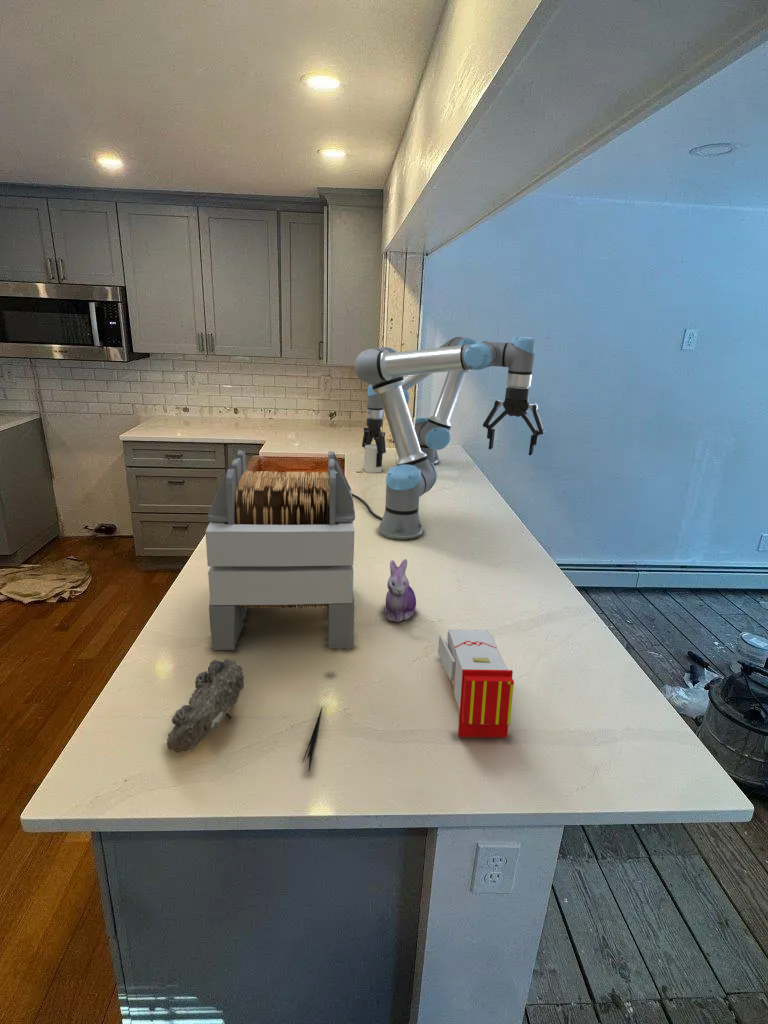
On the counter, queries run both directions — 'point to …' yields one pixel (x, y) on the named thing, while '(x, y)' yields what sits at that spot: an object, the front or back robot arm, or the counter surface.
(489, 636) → the toy
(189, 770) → the counter surface
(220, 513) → the record crate
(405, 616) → the figurine
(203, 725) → the fossil
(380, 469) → the can
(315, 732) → the feather
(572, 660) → the counter surface
